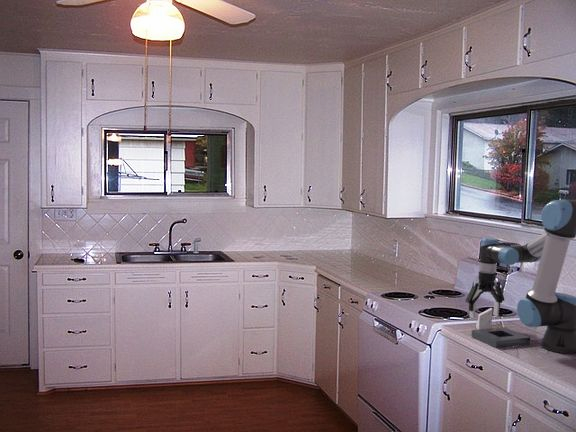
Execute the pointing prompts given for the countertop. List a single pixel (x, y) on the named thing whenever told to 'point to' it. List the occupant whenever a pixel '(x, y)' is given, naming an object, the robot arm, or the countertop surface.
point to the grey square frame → (500, 337)
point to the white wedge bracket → (484, 320)
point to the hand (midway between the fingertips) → (483, 316)
